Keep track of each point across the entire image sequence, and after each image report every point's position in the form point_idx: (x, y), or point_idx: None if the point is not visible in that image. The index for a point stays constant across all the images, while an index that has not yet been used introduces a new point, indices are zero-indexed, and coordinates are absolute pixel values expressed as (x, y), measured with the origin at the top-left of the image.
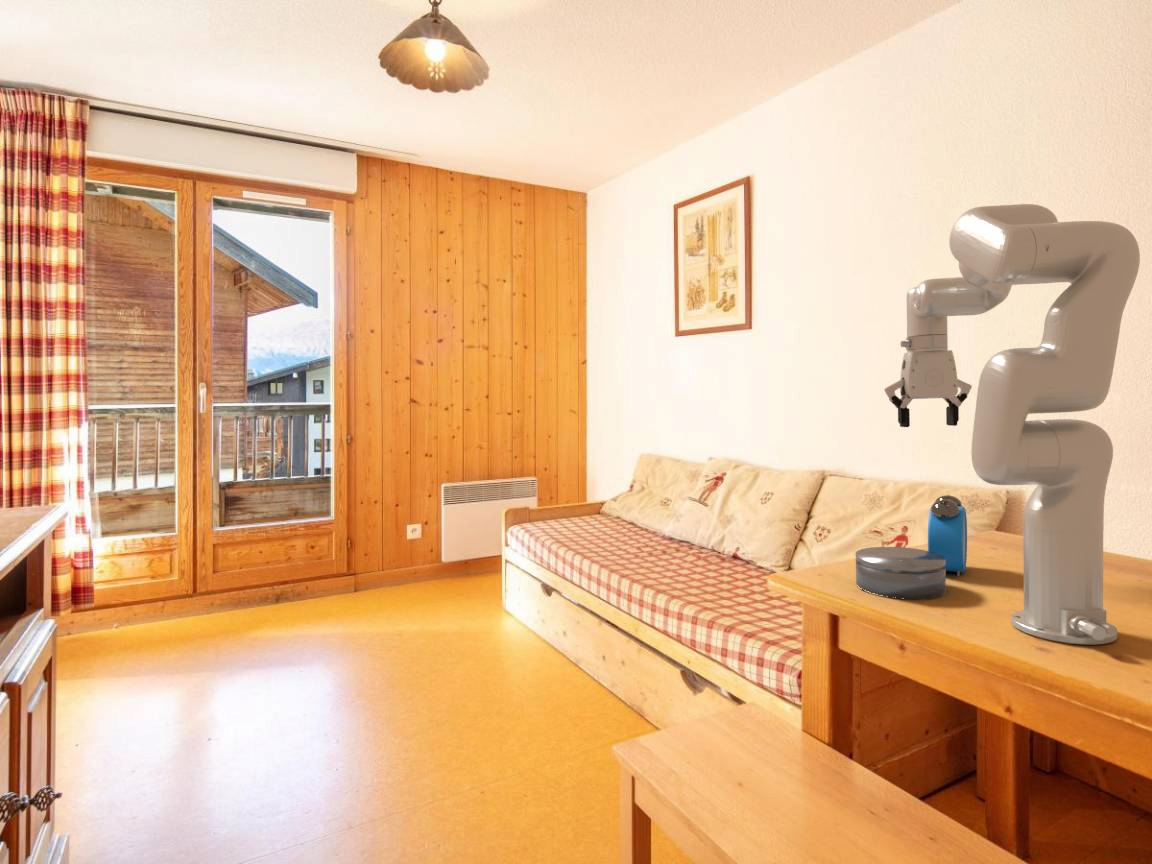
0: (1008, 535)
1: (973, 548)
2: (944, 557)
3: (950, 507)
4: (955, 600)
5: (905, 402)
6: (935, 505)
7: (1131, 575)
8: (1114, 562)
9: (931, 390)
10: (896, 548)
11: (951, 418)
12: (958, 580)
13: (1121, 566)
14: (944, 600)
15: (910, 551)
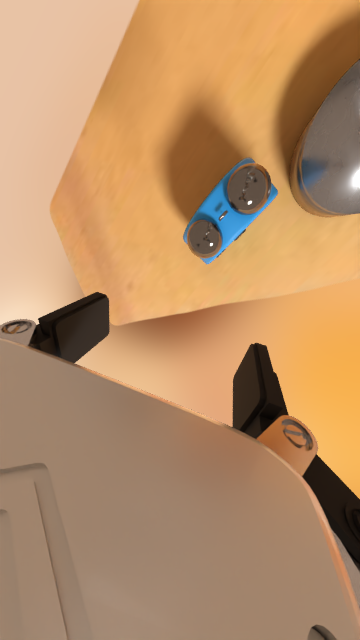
0: None
1: (145, 292)
2: (323, 103)
3: (255, 165)
4: (341, 62)
5: (288, 450)
6: (267, 190)
7: (80, 155)
8: (69, 209)
9: (92, 449)
10: (329, 195)
11: (93, 316)
12: None
13: (71, 193)
14: None
15: (330, 166)
